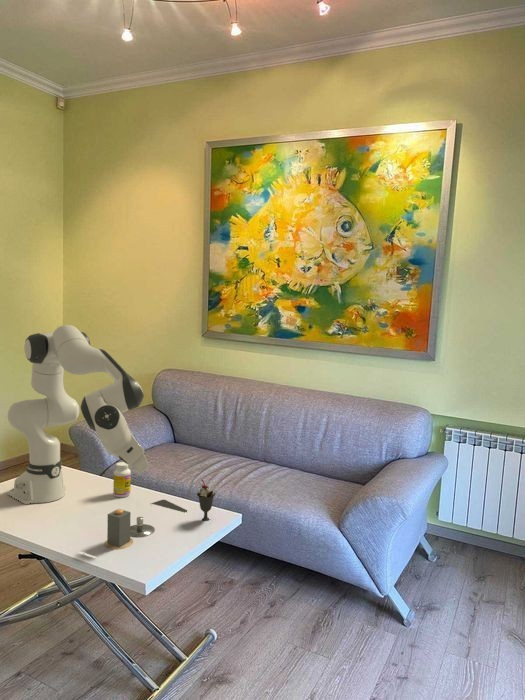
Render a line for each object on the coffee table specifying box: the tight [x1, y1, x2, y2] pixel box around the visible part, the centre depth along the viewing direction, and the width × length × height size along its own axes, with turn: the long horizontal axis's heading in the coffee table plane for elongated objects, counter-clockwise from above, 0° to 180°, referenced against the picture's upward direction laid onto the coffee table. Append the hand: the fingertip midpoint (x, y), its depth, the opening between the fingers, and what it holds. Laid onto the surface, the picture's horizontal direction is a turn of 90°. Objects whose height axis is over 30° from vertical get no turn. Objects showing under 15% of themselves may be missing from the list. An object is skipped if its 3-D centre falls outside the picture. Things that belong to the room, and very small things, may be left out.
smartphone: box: [149, 499, 188, 513], centre depth 193 cm, size 7×1×15 cm
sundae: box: [196, 479, 216, 522], centre depth 182 cm, size 7×7×15 cm
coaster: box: [104, 537, 134, 550], centre depth 164 cm, size 9×9×1 cm
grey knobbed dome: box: [130, 516, 156, 538], centre depth 172 cm, size 10×10×5 cm
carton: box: [106, 508, 131, 548], centre depth 163 cm, size 5×5×11 cm
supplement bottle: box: [112, 461, 132, 498], centre depth 204 cm, size 7×7×13 cm
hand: (125, 458), depth 168 cm, fingers open, 8 cm apart
